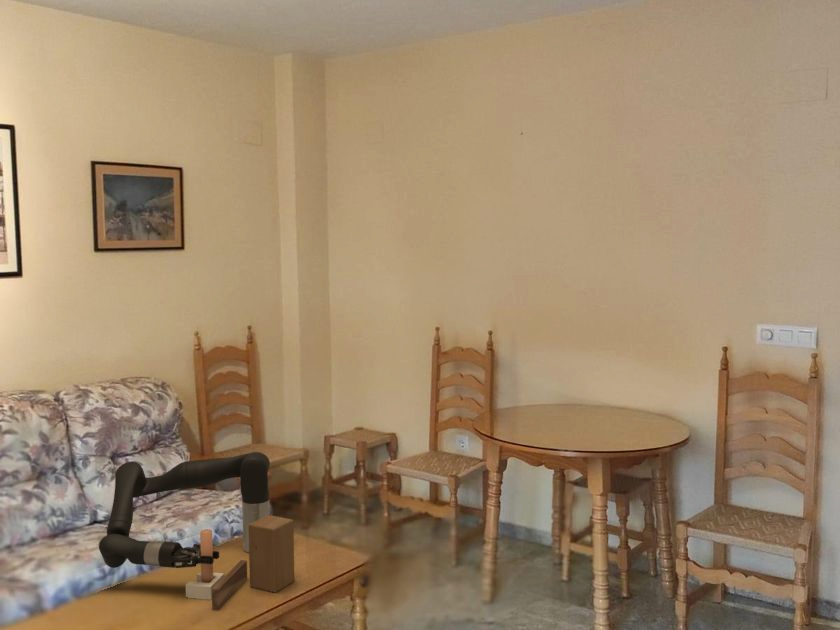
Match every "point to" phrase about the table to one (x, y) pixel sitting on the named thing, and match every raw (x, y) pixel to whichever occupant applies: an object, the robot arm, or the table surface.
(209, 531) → the dowel
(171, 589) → the table surface
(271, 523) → the wooden block
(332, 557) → the table surface
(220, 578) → the notched block
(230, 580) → the wall
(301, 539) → the table surface
